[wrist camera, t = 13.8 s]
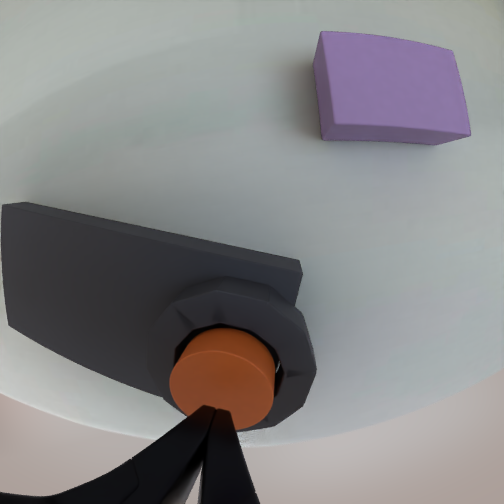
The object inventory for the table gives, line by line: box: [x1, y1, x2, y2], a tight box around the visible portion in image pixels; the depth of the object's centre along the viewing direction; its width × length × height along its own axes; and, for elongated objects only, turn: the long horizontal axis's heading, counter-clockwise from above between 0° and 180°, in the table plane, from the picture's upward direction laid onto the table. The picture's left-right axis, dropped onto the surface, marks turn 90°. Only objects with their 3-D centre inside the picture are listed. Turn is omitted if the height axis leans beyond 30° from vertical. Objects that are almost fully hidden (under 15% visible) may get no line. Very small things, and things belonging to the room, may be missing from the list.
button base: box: [1, 202, 317, 432], centre depth 13 cm, size 18×8×4 cm, turn 79°
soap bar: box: [313, 31, 471, 145], centre depth 10 cm, size 6×4×3 cm, turn 94°
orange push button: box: [170, 328, 275, 430], centre depth 10 cm, size 4×4×2 cm
